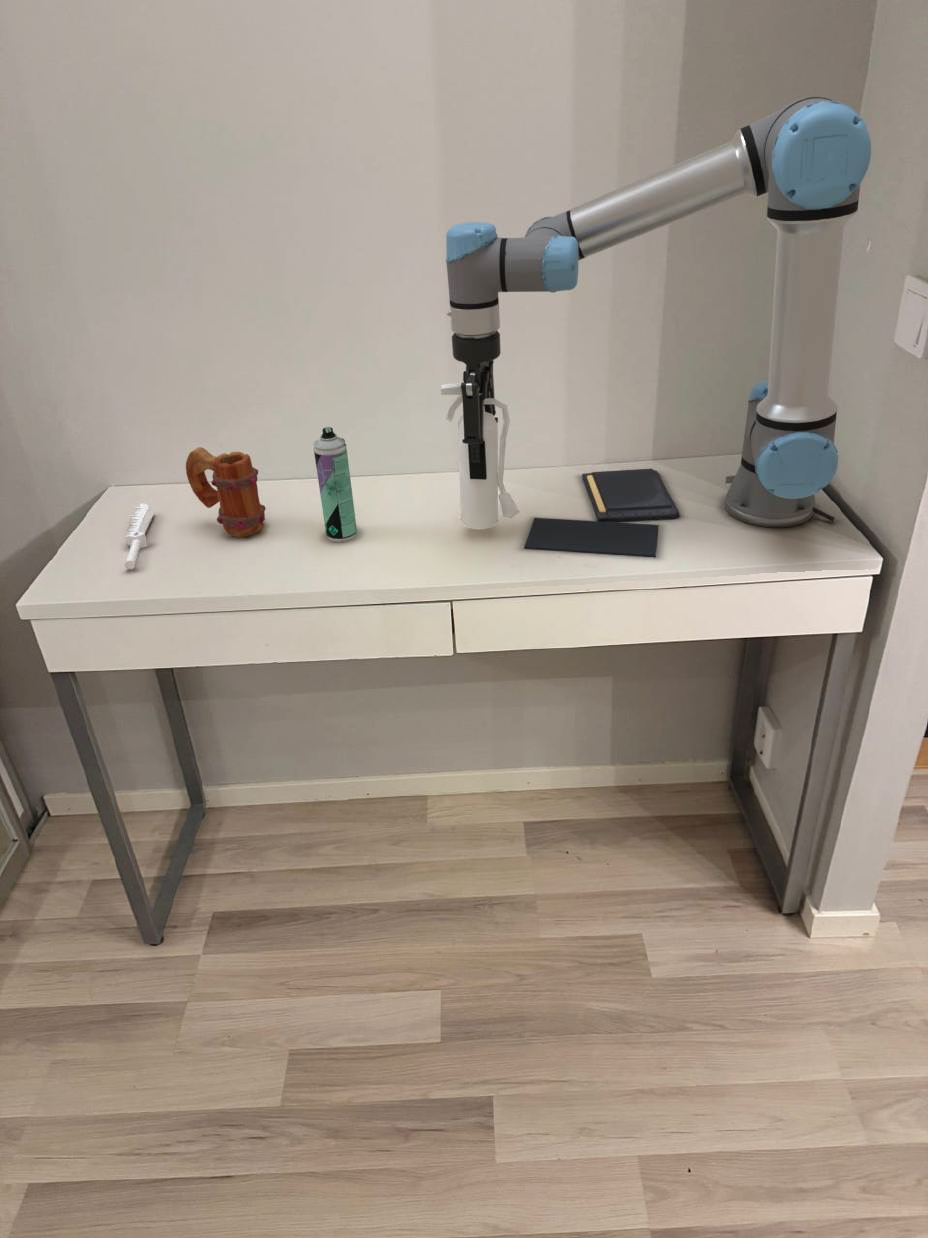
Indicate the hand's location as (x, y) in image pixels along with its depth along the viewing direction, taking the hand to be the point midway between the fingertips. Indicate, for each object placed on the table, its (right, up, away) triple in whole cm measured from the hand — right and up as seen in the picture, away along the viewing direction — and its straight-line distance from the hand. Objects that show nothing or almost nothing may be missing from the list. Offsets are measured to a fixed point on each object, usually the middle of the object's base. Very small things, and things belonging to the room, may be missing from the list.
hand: (482, 469), depth 152 cm
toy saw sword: (-62, -11, +10) cm, 64 cm away
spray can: (-25, -10, +9) cm, 28 cm away
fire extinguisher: (+1, -8, +6) cm, 10 cm away
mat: (+19, -11, +4) cm, 22 cm away
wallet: (+28, -3, +16) cm, 32 cm away
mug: (-45, -9, +13) cm, 48 cm away
